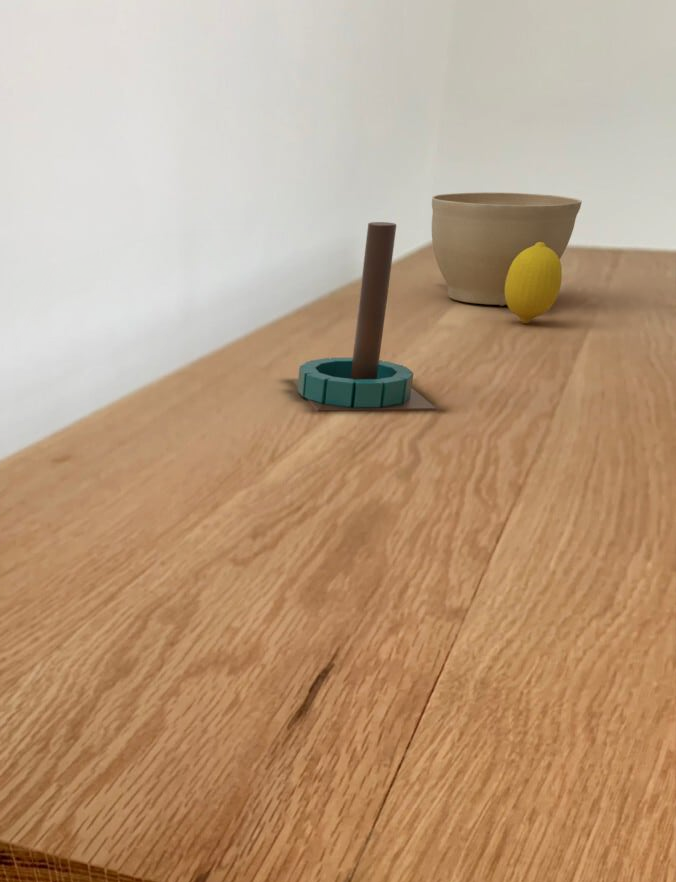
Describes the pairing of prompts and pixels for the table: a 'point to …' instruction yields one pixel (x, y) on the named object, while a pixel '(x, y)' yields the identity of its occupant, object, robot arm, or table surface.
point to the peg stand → (374, 318)
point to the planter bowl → (494, 237)
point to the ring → (353, 384)
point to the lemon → (533, 282)
